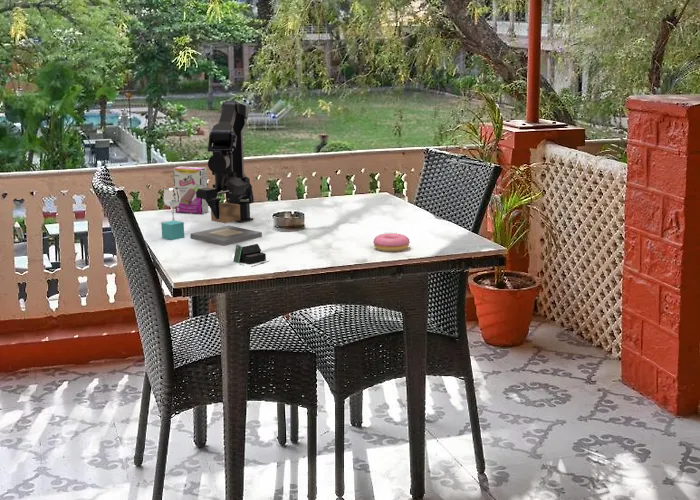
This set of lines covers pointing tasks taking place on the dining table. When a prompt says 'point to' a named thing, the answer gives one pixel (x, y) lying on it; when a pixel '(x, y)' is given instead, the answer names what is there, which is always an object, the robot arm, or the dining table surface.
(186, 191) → the candy bar box
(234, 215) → the walnut block
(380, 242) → the doughnut
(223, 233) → the base plate
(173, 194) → the wineglass
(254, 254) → the dark stepped block
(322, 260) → the dining table surface
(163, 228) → the teal block
